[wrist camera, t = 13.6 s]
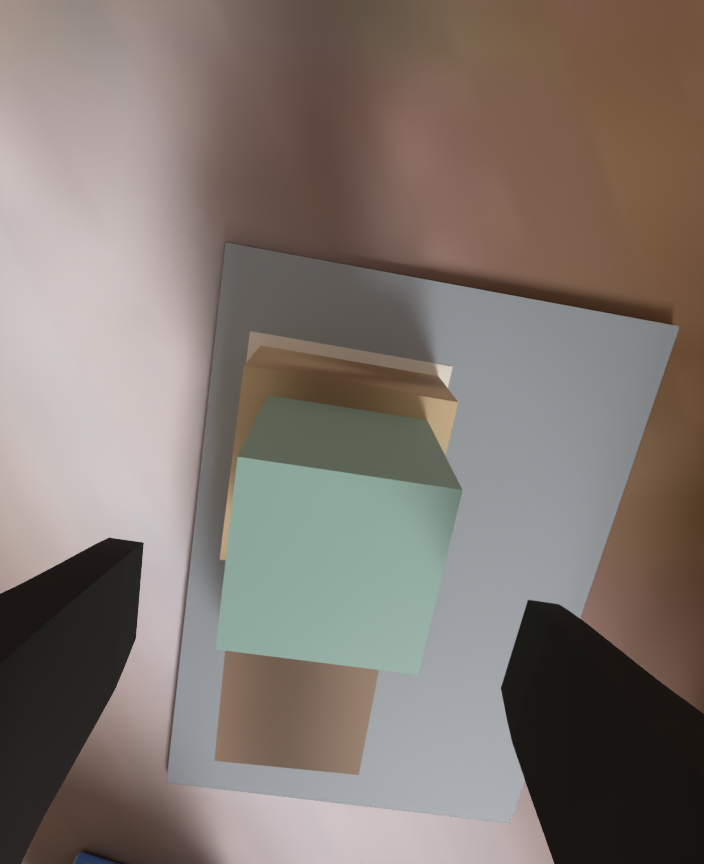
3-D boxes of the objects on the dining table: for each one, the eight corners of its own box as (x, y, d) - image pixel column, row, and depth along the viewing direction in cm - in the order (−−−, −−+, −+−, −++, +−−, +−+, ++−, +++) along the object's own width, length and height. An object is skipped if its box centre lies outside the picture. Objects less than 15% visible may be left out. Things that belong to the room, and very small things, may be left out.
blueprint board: (673, 324, 20) (679, 326, 19) (507, 815, 26) (510, 824, 26) (227, 242, 19) (225, 242, 18) (169, 774, 25) (166, 783, 25)
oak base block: (438, 376, 20) (458, 402, 16) (402, 535, 21) (413, 588, 18) (260, 345, 19) (243, 365, 16) (238, 509, 21) (219, 559, 18)
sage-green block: (427, 420, 16) (462, 490, 12) (397, 560, 18) (418, 674, 13) (267, 395, 16) (237, 456, 11) (249, 539, 18) (215, 649, 13)
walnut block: (372, 566, 22) (381, 654, 17) (354, 666, 23) (359, 775, 18) (251, 551, 22) (226, 637, 17) (240, 653, 23) (214, 760, 18)
